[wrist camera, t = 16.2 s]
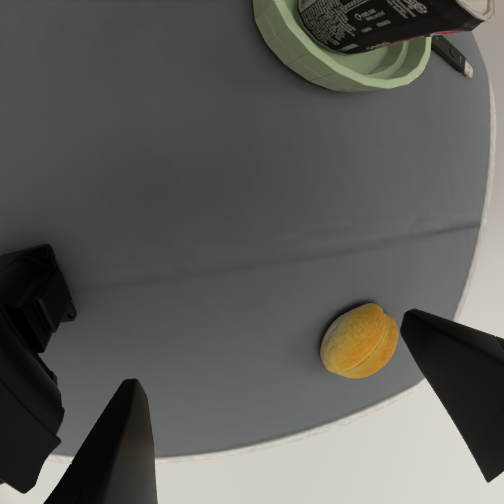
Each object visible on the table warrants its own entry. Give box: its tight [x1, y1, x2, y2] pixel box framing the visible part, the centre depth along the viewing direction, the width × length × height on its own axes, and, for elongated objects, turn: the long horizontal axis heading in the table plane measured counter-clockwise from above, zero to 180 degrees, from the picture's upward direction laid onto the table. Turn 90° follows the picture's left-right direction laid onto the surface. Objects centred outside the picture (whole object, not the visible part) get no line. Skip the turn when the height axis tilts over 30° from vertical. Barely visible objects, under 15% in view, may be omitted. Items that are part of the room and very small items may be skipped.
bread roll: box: [320, 303, 398, 379], centre depth 26 cm, size 8×9×4 cm
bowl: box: [253, 0, 431, 92], centre depth 13 cm, size 12×12×4 cm
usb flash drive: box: [431, 35, 473, 78], centre depth 17 cm, size 8×2×1 cm, turn 75°
